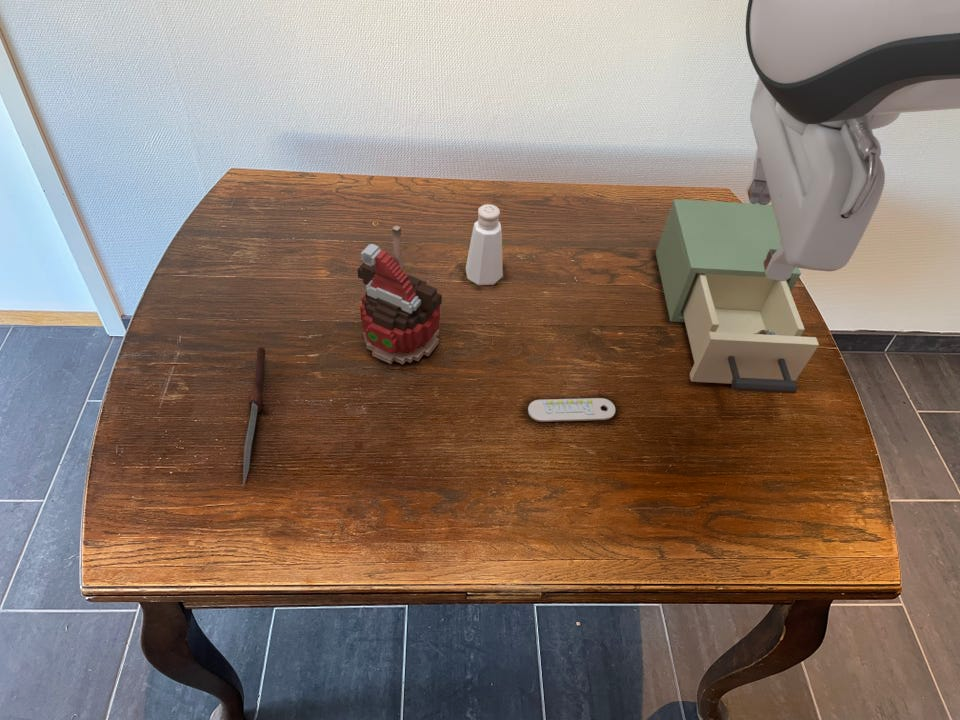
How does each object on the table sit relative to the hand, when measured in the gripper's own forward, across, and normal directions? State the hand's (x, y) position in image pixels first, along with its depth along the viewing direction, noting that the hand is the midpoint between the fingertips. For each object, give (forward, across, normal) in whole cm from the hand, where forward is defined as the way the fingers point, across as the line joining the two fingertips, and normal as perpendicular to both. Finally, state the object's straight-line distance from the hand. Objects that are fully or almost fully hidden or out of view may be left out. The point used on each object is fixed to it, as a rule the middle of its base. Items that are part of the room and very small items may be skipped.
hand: (765, 234), depth 56 cm
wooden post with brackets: (+29, +14, -9) cm, 33 cm away
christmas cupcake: (+31, +11, +33) cm, 47 cm away
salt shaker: (+31, +25, +24) cm, 47 cm away
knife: (+31, -4, +47) cm, 57 cm away
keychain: (+31, +3, +11) cm, 33 cm away
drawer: (+30, +14, -9) cm, 34 cm away
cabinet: (+31, +27, -8) cm, 42 cm away
